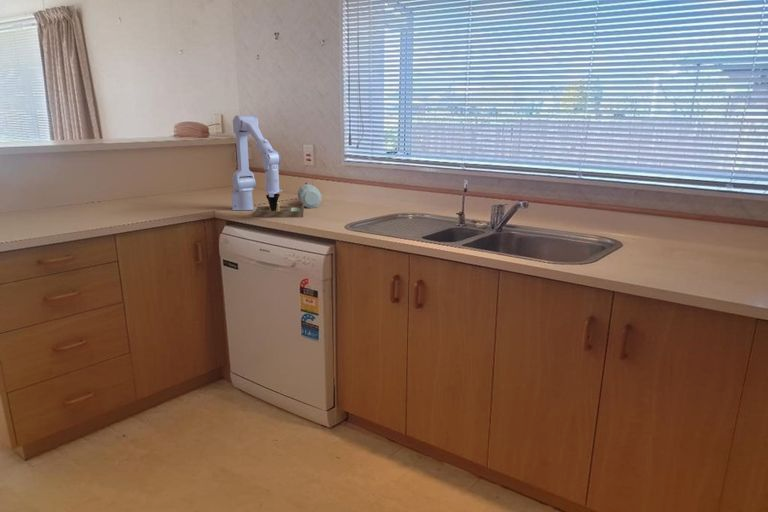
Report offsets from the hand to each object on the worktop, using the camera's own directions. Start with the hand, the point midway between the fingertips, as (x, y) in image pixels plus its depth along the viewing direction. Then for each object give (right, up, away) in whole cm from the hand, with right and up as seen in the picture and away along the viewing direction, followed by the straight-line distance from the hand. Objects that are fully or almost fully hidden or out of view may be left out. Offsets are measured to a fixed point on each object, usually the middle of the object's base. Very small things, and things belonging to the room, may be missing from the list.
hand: (273, 210), depth 240 cm
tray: (+1, -1, +7) cm, 7 cm away
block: (0, 0, +4) cm, 4 cm away
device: (+10, +7, +36) cm, 38 cm away
